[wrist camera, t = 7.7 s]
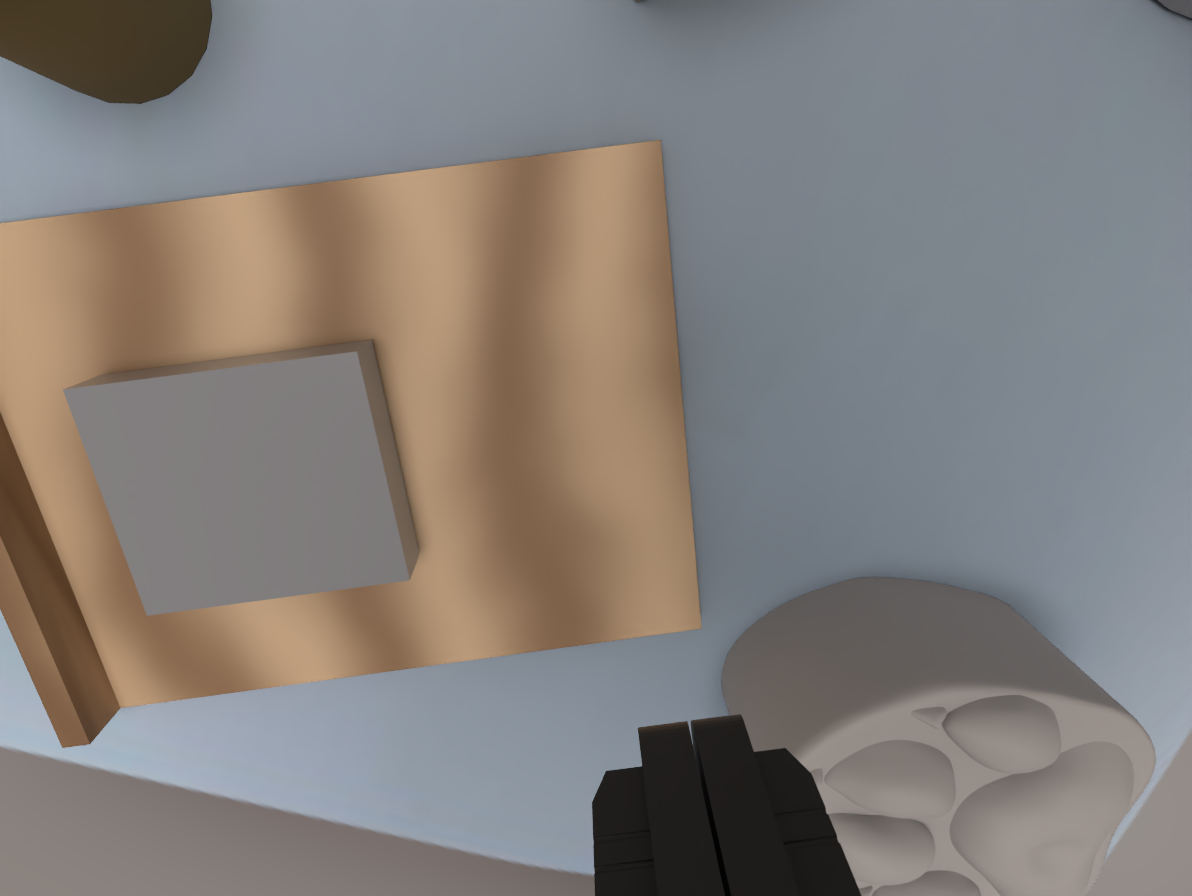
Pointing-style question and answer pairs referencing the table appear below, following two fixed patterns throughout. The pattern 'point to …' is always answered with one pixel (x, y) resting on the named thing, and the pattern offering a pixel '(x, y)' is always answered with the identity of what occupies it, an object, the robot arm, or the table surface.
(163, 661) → the oak board
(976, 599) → the lumpy-topped squat cylinder
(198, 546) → the slate tile
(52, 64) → the olive pepper mill
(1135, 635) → the table surface
